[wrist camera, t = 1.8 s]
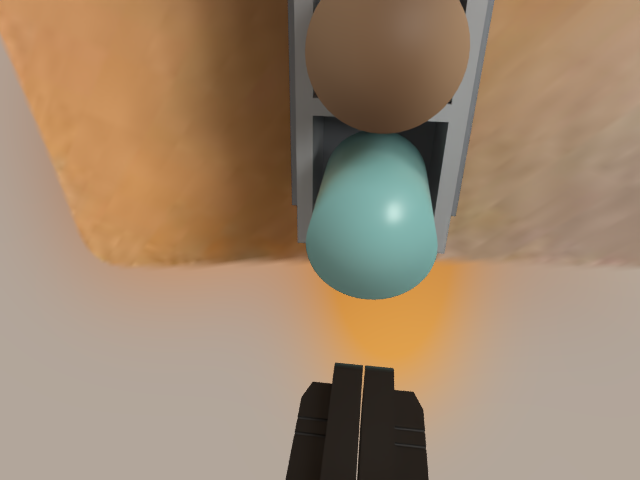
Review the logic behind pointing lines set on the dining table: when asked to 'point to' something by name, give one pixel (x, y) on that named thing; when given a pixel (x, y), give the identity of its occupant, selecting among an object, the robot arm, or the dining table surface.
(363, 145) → the teal rounded cylinder
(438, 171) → the grey compartment tray
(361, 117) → the brown rounded cylinder
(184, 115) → the dining table surface
